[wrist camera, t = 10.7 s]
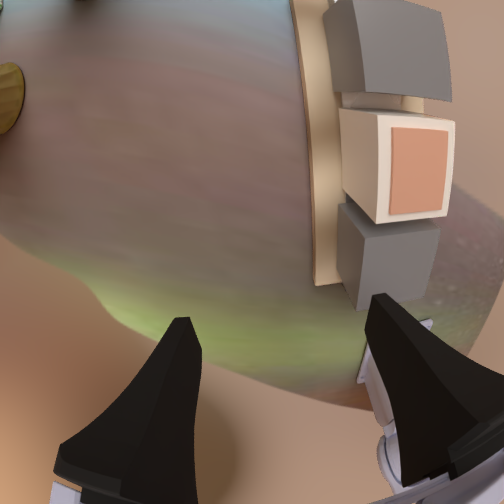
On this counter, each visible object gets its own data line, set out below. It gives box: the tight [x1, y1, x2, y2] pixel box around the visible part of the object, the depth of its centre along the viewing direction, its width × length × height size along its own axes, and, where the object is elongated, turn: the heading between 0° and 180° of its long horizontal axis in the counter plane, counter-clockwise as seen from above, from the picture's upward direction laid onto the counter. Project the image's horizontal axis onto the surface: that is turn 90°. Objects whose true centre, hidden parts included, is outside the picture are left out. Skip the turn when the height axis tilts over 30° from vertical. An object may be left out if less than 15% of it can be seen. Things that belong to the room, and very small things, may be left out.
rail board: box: [289, 0, 452, 311], centre depth 13 cm, size 20×8×6 cm, turn 7°
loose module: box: [339, 108, 455, 224], centre depth 13 cm, size 5×4×5 cm
